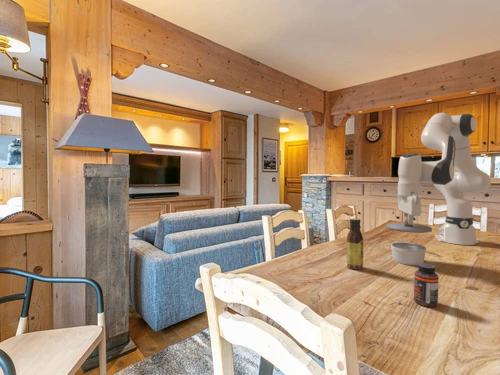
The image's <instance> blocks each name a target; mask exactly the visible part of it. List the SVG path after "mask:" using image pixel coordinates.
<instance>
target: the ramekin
mask: <svg viewBox="0 0 500 375" xmlns="http://www.w3.org/2000/svg"><path fill="white" fill-rule="evenodd" d="M390 248H391V255H392V259H393V260H394V261H395V262H396V263H398V264H401V265H406V266H419V264H421V263H425V258H426V253H427V247H426V246H424V245H423V244H422V245H421V244H418V243H414V242H403V241H398V242H392V243H391V244H390Z"/></svg>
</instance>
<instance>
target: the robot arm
mask: <svg viewBox="0 0 500 375" xmlns="http://www.w3.org/2000/svg"><path fill="white" fill-rule="evenodd" d="M476 127H477V120H476V118H475V116H474V115H473V114H471V113H470V114H469V113H463V114H457V115H456V114H455V115H450V114H449V113H446V112H439V113H437V112H436V113H435V114H434V115H432V116H431V118H429V120H428V121H427V122H425V124H424V125H423V129H422V132H421V135H420V140H421V143H422V144H423V146H425V147H426V148H427V149H430V150H433V151H438V152H439V151H440V152H442V154H441V159H439V160H436V161H422V155H421V154H420V153H415V152H413V153H405V154H402V155H400V158H399V161H398V169H397V174H398V175H397V176H398V182H397V189H396V195H397V208H398V210H399V211H401V212H402V213H403V218H404V217H408V220H407V223H408V224H409V225H412V224H414V219H415V217H416V216H417V217H419V216H421V215H422V198H421V197H420V196H422V184H426V185H427V184H429V185H431V184H432V185H433V186H434V187H435V189H437V190H438V191H439V192H441V194H442V195H443V197H444V198H445V202H446V211H447V212H446V215H445V218H444V219H445V221H444V222H445V223H443V224H442V225H441V226H440V227H439V228H437V232H438V233H439V234H438V233H437V234H435V235H434V237H435V238H436V239H437V240H438V241H439V242H444V243H449V244H454V245H462V246H463V245H464V246H474V245H477V244H480V241H479V240H477V232H476V227H475V226H473V225H474V217H473V208H474V207H473V203H472V202H471V200H468V199H467V198H465V197H463V196H462V193H478V192H479V193H482V192H487V190H488V189H490V187H491V185H492V179H491V177H490V175H489V174H488V173H486V172H484V171H482V170H481V169H480V168H479V167H478V166H477V165H476V164H475V162H474V160H473V157H472V150H471V141H470V137H469V136H470V135H473V133H474V132H475V131H476ZM455 169H456V170H457V171H455Z"/></svg>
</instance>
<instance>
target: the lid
mask: <svg viewBox="0 0 500 375" xmlns="http://www.w3.org/2000/svg"><path fill="white" fill-rule="evenodd" d="M403 219H404V220H403V221H404V222H390V223H389V222H388V223H386V226H385V228H387V229H389V230H392V231H397V232H402V233H403V232H404V233H412V234H413V233H415V234H426V233H432V232H433V228H432V227H431V226H427V225H423V224H418V223H413V224H412V225H409V224H408V223H407V220H408V217H404V216H403Z"/></svg>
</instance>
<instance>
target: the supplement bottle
mask: <svg viewBox="0 0 500 375" xmlns="http://www.w3.org/2000/svg"><path fill="white" fill-rule="evenodd" d="M435 271H436V267H435V265H433V264H429V263H425V262H423V263H421V264H419V265H418V269H417V270H415V272H414V280H413V281H414V282H413V283H414V285H413V301H414V302H415V303H416V304H418V305H419V306H422V307H427V308H434V307H437V306H438V302H439V279H440V278H439V275H438V274H437V273H436V272H435Z"/></svg>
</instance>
